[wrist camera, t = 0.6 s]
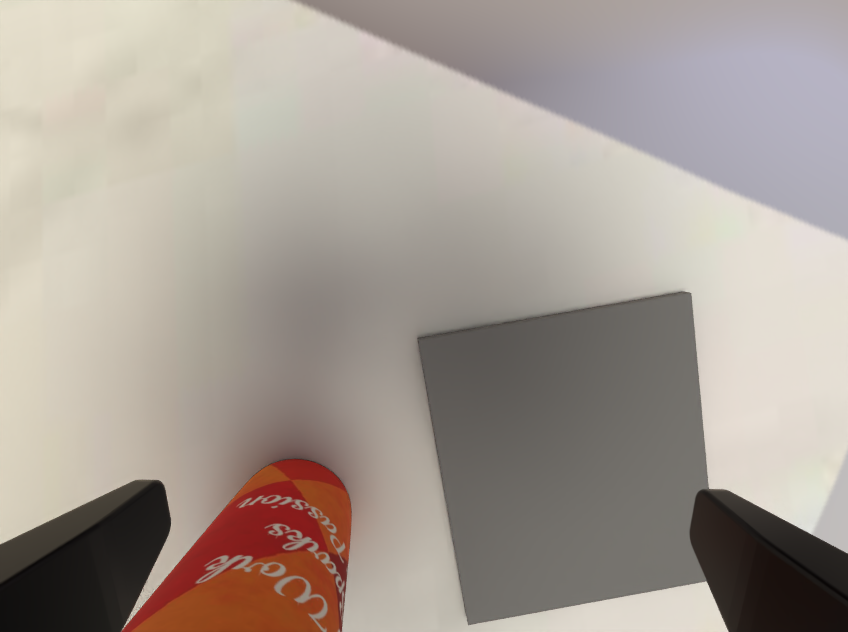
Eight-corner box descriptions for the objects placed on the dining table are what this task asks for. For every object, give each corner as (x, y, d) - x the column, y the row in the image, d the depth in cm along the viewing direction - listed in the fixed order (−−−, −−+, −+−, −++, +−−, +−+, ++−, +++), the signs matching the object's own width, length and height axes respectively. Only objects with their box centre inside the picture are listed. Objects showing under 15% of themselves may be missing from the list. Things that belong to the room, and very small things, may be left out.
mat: (466, 616, 25) (468, 625, 24) (417, 338, 23) (418, 340, 22) (709, 571, 25) (716, 579, 24) (683, 291, 23) (691, 292, 22)
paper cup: (403, 525, 24) (400, 903, 10) (281, 608, 24) (118, 1082, 11) (309, 404, 23) (162, 642, 9) (183, 493, 23) (-142, 850, 9)
